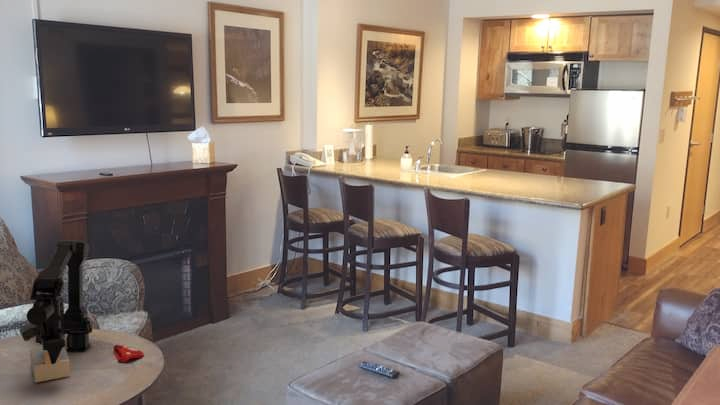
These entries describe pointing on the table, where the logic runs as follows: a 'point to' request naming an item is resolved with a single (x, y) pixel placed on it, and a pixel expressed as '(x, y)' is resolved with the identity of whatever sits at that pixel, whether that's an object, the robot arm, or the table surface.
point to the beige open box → (51, 369)
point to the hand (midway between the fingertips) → (52, 359)
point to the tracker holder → (126, 353)
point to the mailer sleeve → (43, 356)
